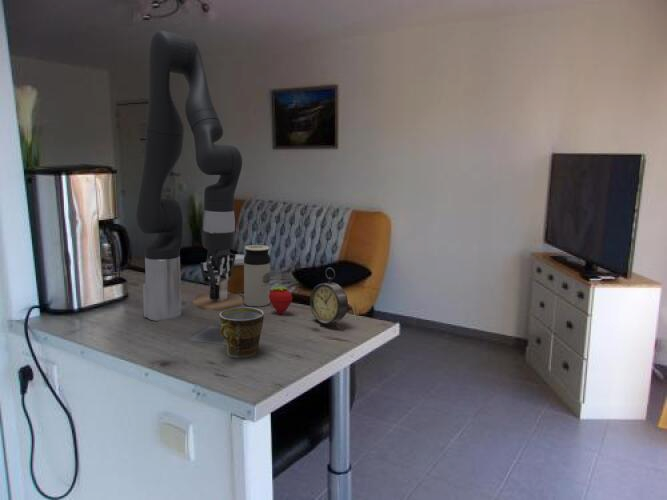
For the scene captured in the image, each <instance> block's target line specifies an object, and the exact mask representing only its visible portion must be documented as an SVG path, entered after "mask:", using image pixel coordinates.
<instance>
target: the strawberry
mask: <svg viewBox="0 0 667 500" xmlns="http://www.w3.org/2000/svg"><path fill="white" fill-rule="evenodd" d="M277 282H278V286H275V287H274V288H270V294H269V299H270V304H271V306H272V307H273V309H275V311H276V312H277V314H278V315H281V316H282V315H283V314H284V313H285V312H286V311H287V310H288V308H289V307H290V305H291V303H292V300H293V296H292V293H291V292H290V290H288V289H289V287H286V286H280V283H279V282H280V281H277Z"/></svg>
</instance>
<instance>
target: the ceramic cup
mask: <svg viewBox="0 0 667 500" xmlns="http://www.w3.org/2000/svg"><path fill="white" fill-rule="evenodd" d="M264 318H265V313H264V311H263V310H262V309H259V308H257V307H252V306H248V307H247V306H240V307H237V308H230V309H226V310H222V311H220V313H219V321H220V326H221V336H222V337H223V338H224V339H225V344H226V345H225V349H226V354H227V355H228V357H230V358H236V359H245V358H252V357H254V356H255V355H257V354H258V350H259V346H260V345H259V344H260V339H261V334H262V329H263V323H264Z"/></svg>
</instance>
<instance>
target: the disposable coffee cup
mask: <svg viewBox="0 0 667 500" xmlns="http://www.w3.org/2000/svg"><path fill="white" fill-rule="evenodd" d="M234 254H235V255H236V257H235V262H234V267H233V272H232V276H231V277H229V279H228V283H227V292H230V293H232V294H234V293H235V294H242V293H244V257H245V255H246V254H239V253H237V254H236V253H234ZM237 292H238V293H237Z"/></svg>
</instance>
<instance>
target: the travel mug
mask: <svg viewBox="0 0 667 500" xmlns="http://www.w3.org/2000/svg"><path fill="white" fill-rule="evenodd" d="M244 249H245V254H244V255H245V257H244V292H243V304H244V305H246V306H248V307H251V308H257V307H258V308H259V307H265V306H268V305H269V304H271V302H270V299H269V294H270V292H271V257H270V254H269V250H270V247H269V246H268V245H262V244H250V245H246V246H244Z"/></svg>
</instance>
